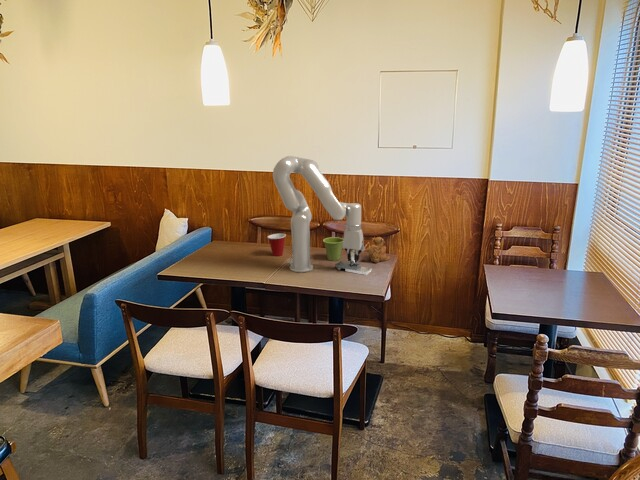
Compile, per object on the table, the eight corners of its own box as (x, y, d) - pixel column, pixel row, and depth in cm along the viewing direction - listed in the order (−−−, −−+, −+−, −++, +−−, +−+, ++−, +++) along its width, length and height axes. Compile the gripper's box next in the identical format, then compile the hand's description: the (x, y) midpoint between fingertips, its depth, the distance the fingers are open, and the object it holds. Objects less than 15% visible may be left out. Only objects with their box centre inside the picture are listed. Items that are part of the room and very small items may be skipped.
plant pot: (319, 258, 277) (318, 239, 274) (333, 254, 284) (334, 236, 281) (333, 263, 268) (333, 244, 265) (348, 259, 276) (348, 240, 273)
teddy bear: (390, 258, 276) (391, 236, 272) (379, 265, 265) (379, 242, 261) (375, 255, 282) (376, 234, 278) (363, 262, 270) (363, 239, 267)
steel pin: (349, 264, 256) (349, 249, 253) (351, 262, 258) (351, 248, 256) (354, 265, 254) (354, 250, 252) (357, 263, 257) (357, 248, 255)
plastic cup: (270, 251, 290) (269, 232, 287) (288, 252, 289) (287, 233, 286) (266, 257, 280) (265, 237, 277) (284, 258, 278) (283, 237, 275)
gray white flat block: (335, 269, 258) (335, 264, 257) (340, 265, 264) (340, 260, 263) (366, 274, 250) (366, 269, 249) (371, 270, 256) (371, 265, 255)
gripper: (336, 227, 251) (336, 260, 256) (365, 230, 244) (364, 265, 249) (342, 224, 258) (342, 256, 263) (371, 227, 250) (370, 261, 255)
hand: (353, 260), depth 256 cm, fingers closed on steel pin, 3 cm apart
